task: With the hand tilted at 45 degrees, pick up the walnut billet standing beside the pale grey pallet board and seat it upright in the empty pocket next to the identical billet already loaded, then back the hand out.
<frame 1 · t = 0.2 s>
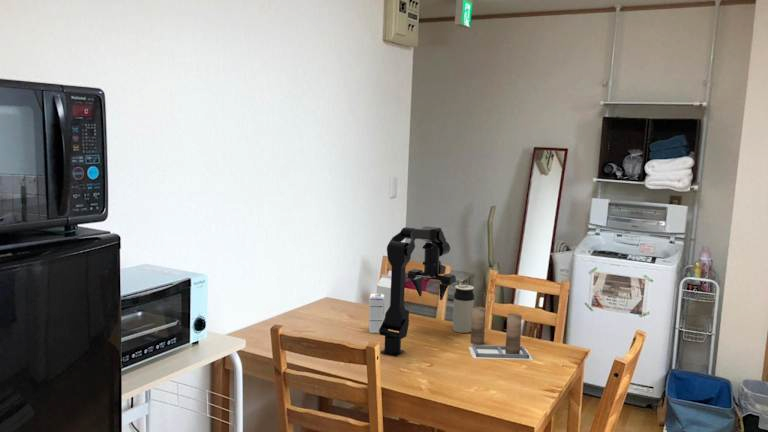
hand: (430, 298, 249), 14 cm above the table, tool pointing down, fingers open, 9 cm apart
syrup box: (376, 331, 252), on the table
loaded billet: (512, 353, 227), point 1 cm above the table, touching pallet board
billet: (477, 345, 238), on the table
pallet board: (499, 355, 227), on the table
milk carton: (387, 320, 268), on the table
travel mug: (462, 330, 256), on the table
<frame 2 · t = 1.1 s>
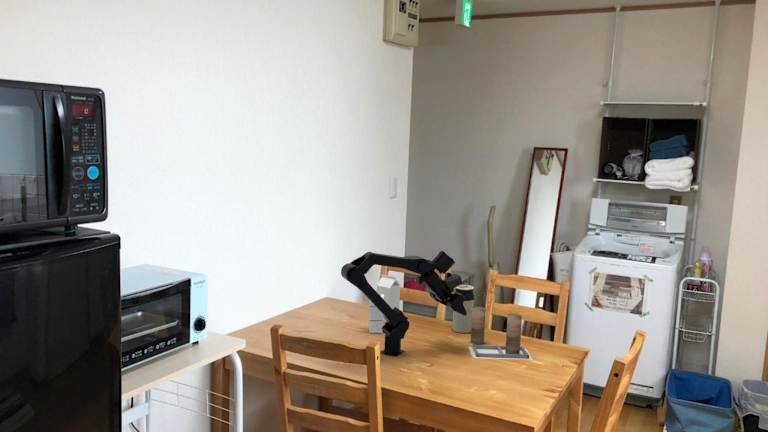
hand: (460, 311, 235), 13 cm above the table, tool tilted 45°, fingers open, 9 cm apart
nothing on the table moved.
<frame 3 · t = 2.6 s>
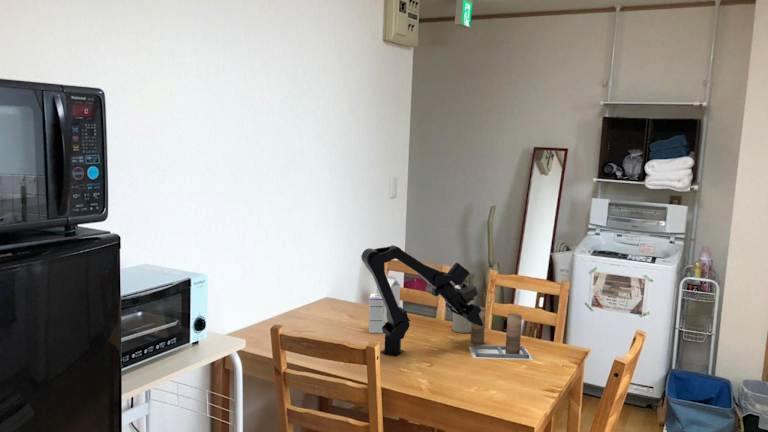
hand: (476, 321, 237), 9 cm above the table, tool tilted 45°, fingers open, 9 cm apart
nothing on the table moved.
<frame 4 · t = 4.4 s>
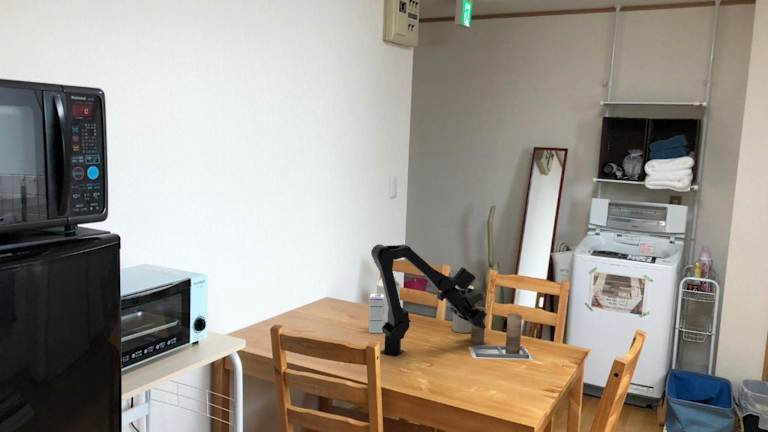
hand: (481, 326, 238), 7 cm above the table, tool tilted 45°, fingers closed on billet, 5 cm apart
billet: (477, 345, 238), on the table, touching gripper
everything else where it was.
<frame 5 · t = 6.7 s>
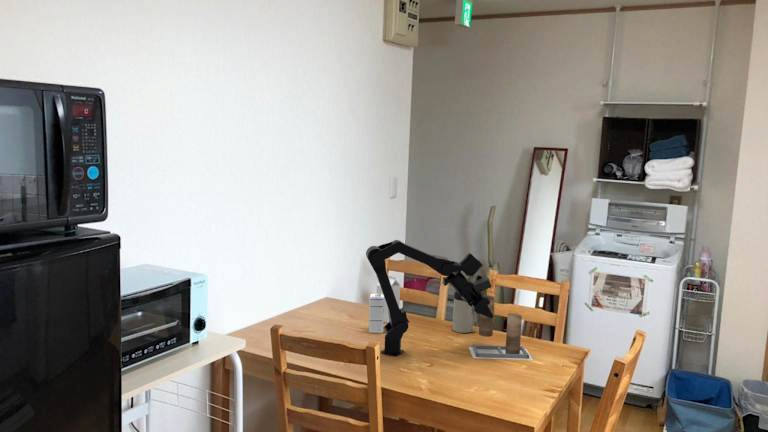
hand: (490, 315, 230), 13 cm above the table, tool tilted 45°, fingers closed on billet, 5 cm apart
billet: (485, 334, 231), point 6 cm above the table, touching gripper
everything else where it was.
when the fingers open (9 cm above the table, at t = 9.0 s): billet drops 1 cm, resting on pallet board.
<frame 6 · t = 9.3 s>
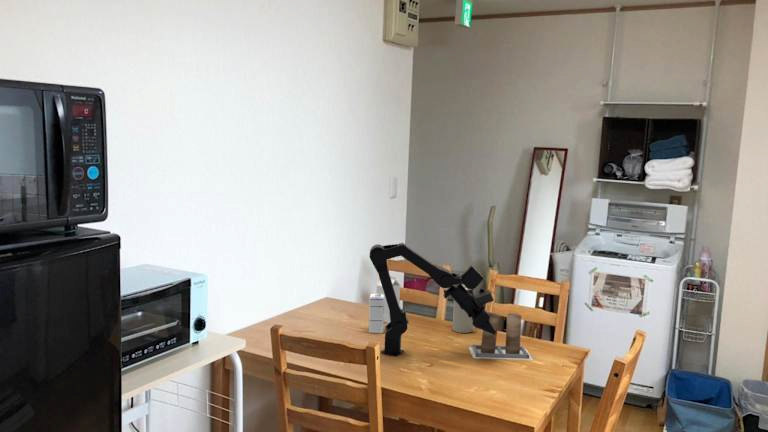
hand: (492, 329, 226), 10 cm above the table, tool tilted 45°, fingers open, 9 cm apart
billet: (487, 352, 227), point 1 cm above the table, touching pallet board
everything else where it was.
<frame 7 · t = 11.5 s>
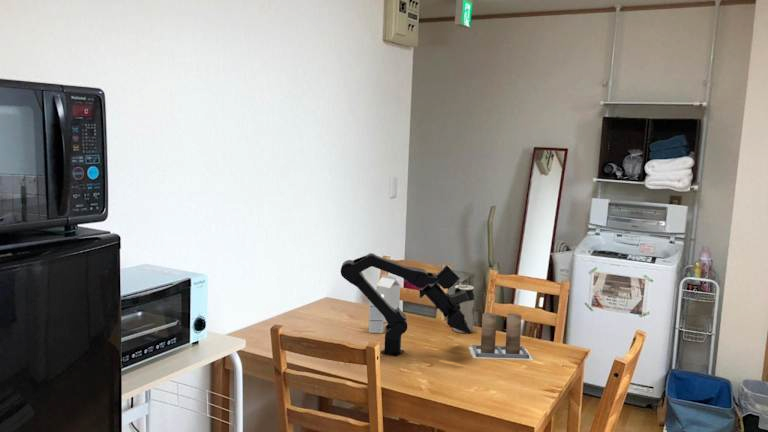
hand: (468, 329, 226), 9 cm above the table, tool tilted 45°, fingers open, 9 cm apart
nothing on the table moved.
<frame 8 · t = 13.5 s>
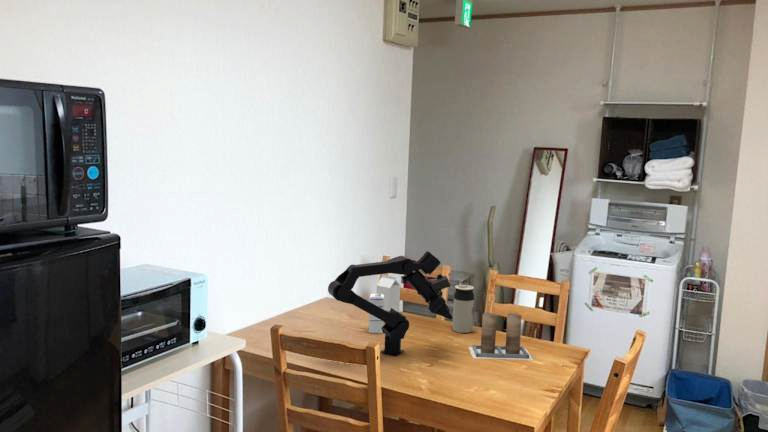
hand: (450, 315, 228), 14 cm above the table, tool tilted 45°, fingers open, 9 cm apart
nothing on the table moved.
at the end: billet 0.1 cm from the target spot on the pallet board, point 1.0 cm above the pallet board's base; billet tilted 0°; the gripper is holding nothing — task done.
